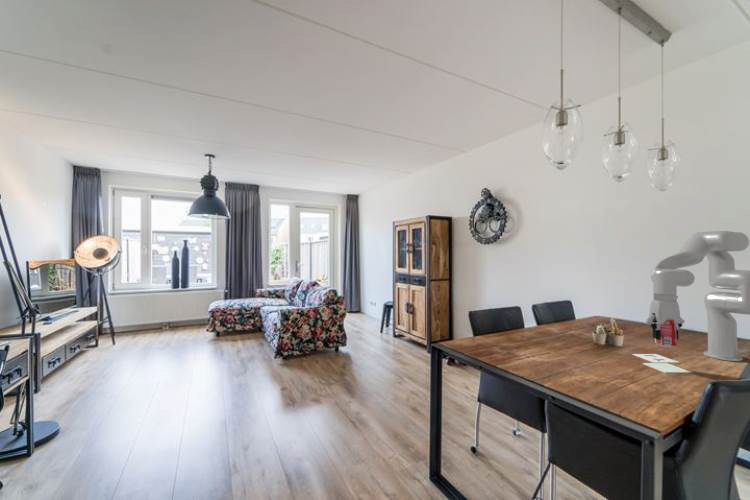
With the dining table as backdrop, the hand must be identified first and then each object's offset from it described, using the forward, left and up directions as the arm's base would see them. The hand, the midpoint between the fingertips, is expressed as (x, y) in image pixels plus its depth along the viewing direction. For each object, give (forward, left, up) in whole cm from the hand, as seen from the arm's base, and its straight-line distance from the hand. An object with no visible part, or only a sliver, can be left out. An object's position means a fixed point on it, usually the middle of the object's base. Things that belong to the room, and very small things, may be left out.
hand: (665, 338), depth 137 cm
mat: (0, 0, -13) cm, 13 cm away
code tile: (-7, -13, -13) cm, 20 cm away
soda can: (0, 0, -3) cm, 3 cm away
